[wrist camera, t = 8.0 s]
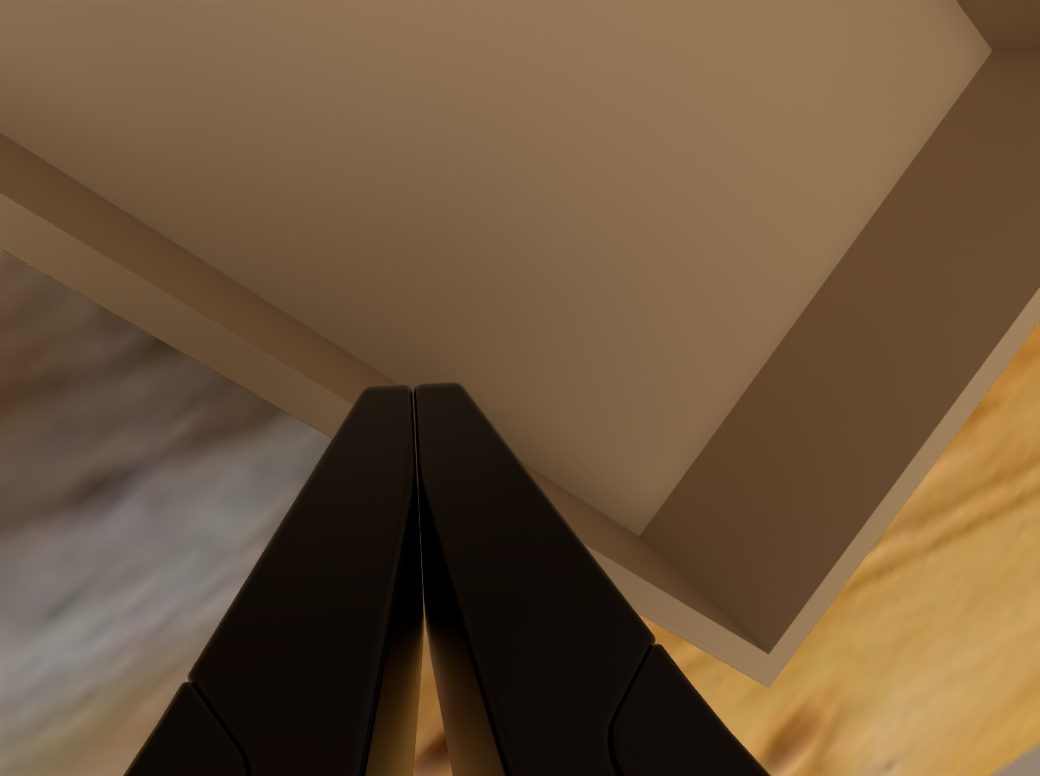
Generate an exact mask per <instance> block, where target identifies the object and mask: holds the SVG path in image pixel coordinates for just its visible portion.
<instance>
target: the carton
mask: <svg viewBox="0 0 1040 776" xmlns="http://www.w3.org/2000/svg"><path fill="white" fill-rule="evenodd" d="M0 249H2V250H4V251H6V252H7V253H9V254H11V255H13V256H14V257H16V258H18V259H20V260H21V261H23V262H25V263H27V264H28V265H30V266H32V267H34V268H35V269H37V270H39V271H41V272H42V273H44V274H46V275H48V276H49V277H51V278H53V279H55V280H56V281H58V282H60V283H62V284H63V285H65V286H67V287H69V288H70V289H72V290H74V291H76V292H77V293H79V294H81V295H83V296H84V297H86V298H88V299H90V300H91V301H93V302H95V303H97V304H98V305H100V306H102V307H104V308H105V309H107V310H109V311H111V312H112V313H114V314H116V315H118V316H119V317H121V318H123V319H125V320H126V321H128V322H130V323H132V324H133V325H135V326H137V327H139V328H140V329H142V330H144V331H145V332H147V333H149V334H151V335H152V336H154V337H156V338H158V339H159V340H161V341H163V342H165V343H166V344H168V345H170V346H172V347H173V348H175V349H177V350H179V351H180V352H182V353H184V354H186V355H187V356H189V357H191V358H193V359H194V360H196V361H198V362H200V363H201V364H203V365H205V366H207V367H208V368H210V369H212V370H214V371H215V372H217V373H219V374H221V375H222V376H224V377H226V378H228V379H229V380H231V381H233V382H235V383H236V384H238V385H240V386H242V387H243V388H245V389H247V390H249V391H250V392H252V393H254V394H256V395H257V396H259V397H261V398H263V399H264V400H266V401H268V402H270V403H271V404H273V405H275V406H277V407H278V408H280V409H282V410H284V411H285V412H287V413H289V414H291V415H292V416H294V417H296V418H298V419H299V420H301V421H303V422H305V423H306V424H308V425H310V426H312V427H313V428H315V429H317V430H319V431H320V432H322V433H324V434H326V435H327V436H329V437H331V438H334V436H335V434H336V433H337V431H338V429H339V428H340V426H341V425H342V423H343V421H344V420H345V418H346V416H347V415H348V413H349V412H350V410H351V408H352V407H353V405H354V403H355V402H356V400H357V399H358V397H359V395H360V394H361V392H362V391H363V390H364V389H365V388H367V387H371V386H388V385H407V386H409V387H410V388H411V389H412V392H413V393H414V389H415V387H416V386H417V385H419V384H428V383H448V382H456V383H459V384H461V385H462V386H463V387H464V388H465V389H466V390H467V392H468V393H469V394H470V396H471V397H472V398H473V400H474V401H475V402H476V404H477V405H478V406H479V407H480V409H481V410H482V411H483V413H484V414H485V415H486V417H487V418H488V419H489V421H490V422H491V423H492V425H493V426H494V427H495V428H496V430H497V431H498V432H499V434H500V435H501V436H502V438H503V439H504V440H505V442H506V443H507V444H508V445H509V447H510V448H511V449H512V451H513V452H514V453H515V455H516V456H517V457H518V459H519V460H520V461H521V462H522V464H523V465H524V466H525V468H526V469H527V470H528V472H529V473H530V474H531V476H532V477H533V478H534V479H535V481H536V482H537V483H538V485H539V486H540V487H541V489H542V490H543V491H544V493H545V494H546V495H547V496H548V498H549V499H550V500H551V502H552V503H553V504H554V506H555V507H556V508H557V510H558V511H559V512H560V513H561V515H562V516H563V517H564V519H565V520H566V521H567V523H568V524H569V525H570V527H571V528H572V529H573V530H574V532H575V533H576V534H577V536H578V537H579V538H580V540H581V541H582V542H583V544H584V545H585V546H586V547H587V549H588V550H589V551H590V553H591V554H592V555H593V557H594V558H595V559H596V561H597V562H598V563H599V564H600V566H601V567H602V568H603V570H604V571H605V572H606V574H607V575H608V576H609V578H610V579H611V580H612V582H613V583H614V584H615V585H616V587H617V588H618V589H619V591H620V592H621V593H622V595H623V596H624V597H625V599H626V600H627V601H628V602H629V604H630V605H631V606H632V608H633V609H634V610H635V612H637V613H638V614H640V615H642V616H644V617H645V618H647V619H649V620H651V621H652V622H654V623H656V624H658V625H659V626H661V627H663V628H665V629H666V630H668V631H670V632H672V633H673V634H675V635H677V636H679V637H680V638H682V639H684V640H686V641H687V642H689V643H691V644H693V645H694V646H696V647H698V648H700V649H701V650H703V651H705V652H707V653H708V654H710V655H712V656H714V657H715V658H717V659H719V660H721V661H722V662H724V663H726V664H728V665H729V666H731V667H733V668H735V669H736V670H738V671H740V672H742V673H743V674H745V675H747V676H749V677H750V678H752V679H754V680H756V681H757V682H759V683H761V684H763V685H764V686H766V687H768V688H769V687H770V686H771V684H772V683H773V682H774V680H775V679H776V678H777V676H778V675H779V674H780V672H781V671H782V670H783V668H784V667H785V665H786V664H787V663H788V661H789V660H790V659H791V657H792V656H793V655H794V653H795V652H796V651H797V649H798V648H799V647H800V645H801V644H802V642H803V641H804V640H805V638H806V637H807V636H808V634H809V633H810V632H811V630H812V629H813V628H814V626H815V625H816V624H817V622H818V621H819V619H820V618H821V617H822V615H823V614H824V613H825V611H826V610H827V609H828V607H829V606H830V605H831V603H832V602H833V601H834V599H835V598H836V596H837V595H838V594H839V592H840V591H841V590H842V588H843V587H844V586H845V584H846V583H847V582H848V580H849V579H850V577H851V576H852V575H853V573H854V572H855V571H856V569H857V568H858V567H859V565H860V564H861V563H862V561H863V560H864V559H865V557H866V556H867V554H868V553H869V552H870V550H871V549H872V548H873V546H874V545H875V544H876V542H877V541H878V540H879V538H880V537H881V536H882V534H883V533H884V531H885V530H886V529H887V527H888V526H889V525H890V523H891V522H892V521H893V519H894V518H895V517H896V515H897V514H898V513H899V511H900V510H901V508H902V507H903V506H904V504H905V503H906V502H907V500H908V499H909V498H910V496H911V495H912V494H913V492H914V491H915V490H916V488H917V487H918V485H919V484H920V483H921V481H922V480H923V479H924V477H925V476H926V475H927V473H928V472H929V471H930V469H931V468H932V467H933V465H934V464H935V462H936V461H937V460H938V458H939V457H940V456H941V454H942V453H943V452H944V450H945V449H946V448H947V446H948V445H949V444H950V442H951V441H952V439H953V438H954V437H955V435H956V434H957V433H958V431H959V430H960V429H961V427H962V426H963V425H964V423H965V422H966V421H967V419H968V418H969V416H970V415H971V414H972V412H973V411H974V410H975V408H976V407H977V406H978V404H979V403H980V402H981V400H982V399H983V398H984V396H985V395H986V393H987V392H988V391H989V389H990V388H991V387H992V385H993V384H994V383H995V381H996V380H997V379H998V377H999V376H1000V375H1001V373H1002V372H1003V370H1004V369H1005V368H1006V366H1007V365H1008V364H1009V362H1010V361H1011V360H1012V358H1013V357H1014V356H1015V354H1016V353H1017V351H1018V350H1019V349H1020V347H1021V346H1022V345H1023V343H1024V342H1025V341H1026V339H1027V338H1028V337H1029V335H1030V334H1031V333H1032V331H1033V330H1034V328H1035V327H1036V326H1037V324H1038V323H1039V322H1040V0H0ZM413 407H414V394H413ZM414 426H415V415H414ZM415 444H416V436H415ZM416 463H417V456H416ZM417 482H418V476H417Z"/></svg>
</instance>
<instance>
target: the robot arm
mask: <svg viewBox="0 0 1040 776" xmlns="http://www.w3.org/2000/svg"><path fill="white" fill-rule="evenodd" d="M413 394H414V407H413ZM414 415H415V426H414ZM415 436H416V444H415ZM416 456H417V463H416ZM417 476H418V482H417ZM418 495H419V503H418ZM419 515H420V524H419ZM420 534H421V544H420ZM421 553H422V565H421ZM422 572H423V585H422ZM423 591H424V607H425V619H426V629H427V636H428V642H429V649H430V655H431V660H432V666H433V671H434V676H435V682H436V687H437V693H438V698H439V703H440V709H441V714H442V719H443V725H444V730H445V736H446V741H447V746H448V752H449V757H450V763H451V768H452V773H453V776H771V775H770V774H769V773H768V772H767V771H766V770H765V769H764V768H763V767H762V766H761V764H760V763H759V762H758V761H757V760H756V759H755V758H754V757H753V756H752V755H751V754H750V753H749V751H748V750H747V749H746V748H745V747H744V746H743V745H742V744H741V743H740V742H739V741H738V739H737V738H736V737H735V736H734V735H733V734H732V733H731V732H730V731H729V729H728V728H727V727H726V726H725V724H724V723H723V722H722V721H721V720H720V718H719V717H718V716H717V715H716V713H715V712H714V711H713V710H712V709H711V707H710V706H709V705H708V704H707V702H706V701H705V700H704V699H703V698H702V696H701V695H700V694H699V693H698V691H697V690H696V689H695V688H694V687H693V685H692V684H691V683H690V682H689V680H688V679H687V678H686V676H685V675H684V674H683V673H682V671H681V670H680V669H679V667H678V666H677V665H676V663H675V662H674V661H673V659H672V658H671V657H670V655H669V654H668V653H667V651H666V650H665V649H664V648H663V646H662V645H660V644H655V637H654V635H653V634H652V633H651V631H650V630H649V629H648V627H647V626H646V625H645V623H644V622H643V621H642V619H641V618H640V617H639V616H638V614H637V613H636V612H635V610H634V609H633V608H632V606H631V605H630V604H629V602H628V601H627V600H626V599H625V597H624V596H623V595H622V593H621V592H620V591H619V589H618V588H617V587H616V585H615V584H614V583H613V582H612V580H611V579H610V578H609V576H608V575H607V574H606V572H605V571H604V570H603V568H602V567H601V566H600V564H599V563H598V562H597V561H596V559H595V558H594V557H593V555H592V554H591V553H590V551H589V550H588V549H587V547H586V546H585V545H584V544H583V542H582V541H581V540H580V538H579V537H578V536H577V534H576V533H575V532H574V530H573V529H572V528H571V527H570V525H569V524H568V523H567V521H566V520H565V519H564V517H563V516H562V515H561V513H560V512H559V511H558V510H557V508H556V507H555V506H554V504H553V503H552V502H551V500H550V499H549V498H548V496H547V495H546V494H545V493H544V491H543V490H542V489H541V487H540V486H539V485H538V483H537V482H536V481H535V479H534V478H533V477H532V476H531V474H530V473H529V472H528V470H527V469H526V468H525V466H524V465H523V464H522V462H521V461H520V460H519V459H518V457H517V456H516V455H515V453H514V452H513V451H512V449H511V448H510V447H509V445H508V444H507V443H506V442H505V440H504V439H503V438H502V436H501V435H500V434H499V432H498V431H497V430H496V428H495V427H494V426H493V425H492V423H491V422H490V421H489V419H488V418H487V417H486V415H485V414H484V413H483V411H482V410H481V409H480V407H479V406H478V405H477V404H476V402H475V401H474V400H473V398H472V397H471V396H470V394H469V393H468V392H467V390H466V389H465V388H464V387H463V386H462V385H461V384H459V383H456V382H448V383H428V384H419V385H417V386H416V387H415V389H414V393H413V392H412V389H411V388H410V387H409V386H407V385H388V386H371V387H367V388H365V389H364V390H363V391H362V392H361V394H360V395H359V397H358V399H357V400H356V402H355V403H354V405H353V407H352V408H351V410H350V412H349V413H348V415H347V416H346V418H345V420H344V421H343V423H342V425H341V426H340V428H339V429H338V431H337V433H336V434H335V436H334V438H333V439H332V441H331V443H330V444H329V446H328V447H327V449H326V451H325V452H324V454H323V456H322V457H321V459H320V460H319V462H318V464H317V465H316V467H315V469H314V470H313V472H312V473H311V475H310V477H309V478H308V480H307V482H306V483H305V485H304V486H303V488H302V490H301V491H300V493H299V495H298V496H297V498H296V499H295V501H294V503H293V504H292V506H291V508H290V509H289V511H288V513H287V514H286V516H285V517H284V519H283V521H282V522H281V524H280V526H279V527H278V529H277V530H276V532H275V534H274V535H273V537H272V539H271V540H270V542H269V543H268V545H267V547H266V548H265V550H264V552H263V553H262V555H261V556H260V558H259V560H258V561H257V563H256V565H255V566H254V568H253V569H252V571H251V573H250V574H249V576H248V578H247V579H246V581H245V583H244V584H243V586H242V587H241V589H240V591H239V592H238V594H237V596H236V597H235V599H234V600H233V602H232V604H231V605H230V607H229V609H228V610H227V612H226V613H225V615H224V617H223V618H222V620H221V622H220V623H219V625H218V626H217V628H216V630H215V631H214V633H213V635H212V636H211V638H210V639H209V641H208V643H207V644H206V646H205V648H204V649H203V651H202V653H201V654H200V656H199V657H198V659H197V661H196V662H195V664H194V666H193V667H192V669H191V670H190V672H189V674H188V680H189V682H185V683H183V684H182V685H181V686H180V687H179V689H178V691H177V692H176V694H175V696H174V697H173V699H172V700H171V702H170V704H169V705H168V707H167V709H166V710H165V712H164V714H163V715H162V717H161V718H160V720H159V722H158V723H157V725H156V727H155V728H154V730H153V731H152V733H151V734H150V736H149V737H148V739H147V740H146V742H145V743H144V745H143V746H142V748H141V749H140V751H139V752H138V754H137V755H136V757H135V759H134V760H133V762H132V763H131V765H130V766H129V768H128V769H127V771H126V772H125V774H124V775H123V776H413V768H414V756H415V743H416V730H417V718H418V705H419V692H420V680H421V667H422V654H423V634H424V611H423Z"/></svg>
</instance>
